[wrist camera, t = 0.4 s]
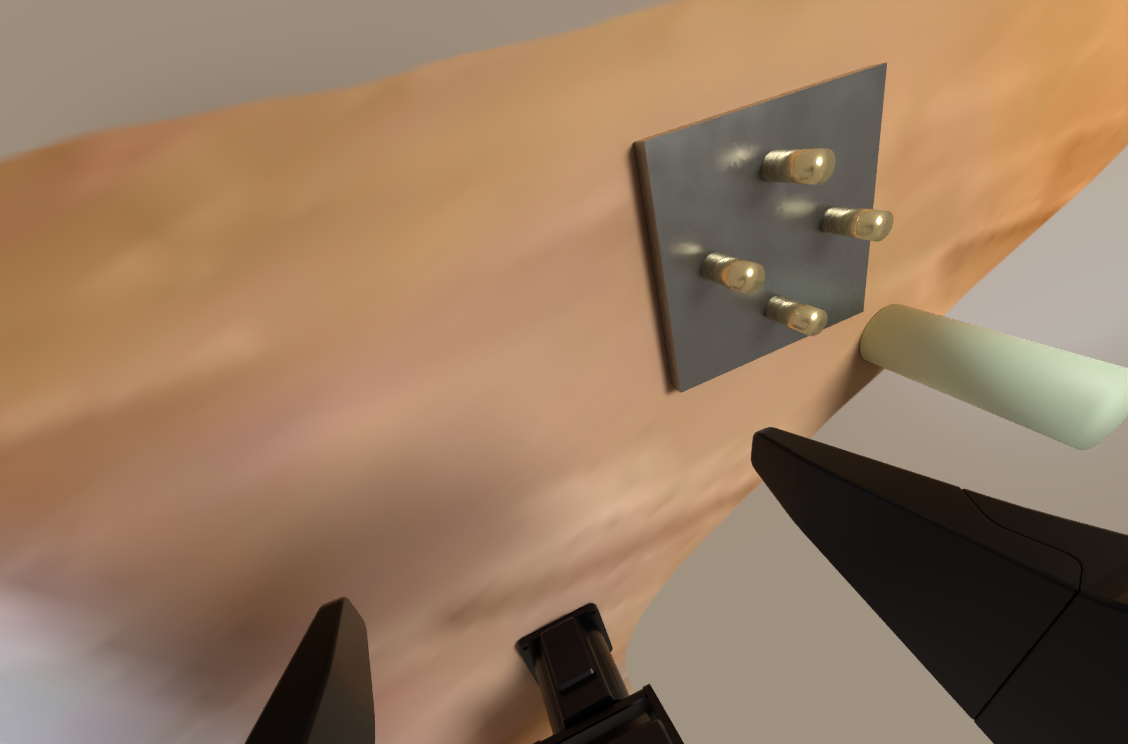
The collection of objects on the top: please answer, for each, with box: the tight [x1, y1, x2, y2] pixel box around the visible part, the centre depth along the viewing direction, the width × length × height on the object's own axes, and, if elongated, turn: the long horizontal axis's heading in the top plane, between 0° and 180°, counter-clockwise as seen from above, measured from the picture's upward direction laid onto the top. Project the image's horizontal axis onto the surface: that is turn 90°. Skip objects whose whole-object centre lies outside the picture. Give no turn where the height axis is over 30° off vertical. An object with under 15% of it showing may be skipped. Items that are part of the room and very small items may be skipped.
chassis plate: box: [634, 63, 893, 392], centre depth 24 cm, size 14×14×4 cm
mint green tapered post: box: [860, 304, 1128, 450], centre depth 27 cm, size 4×4×12 cm
